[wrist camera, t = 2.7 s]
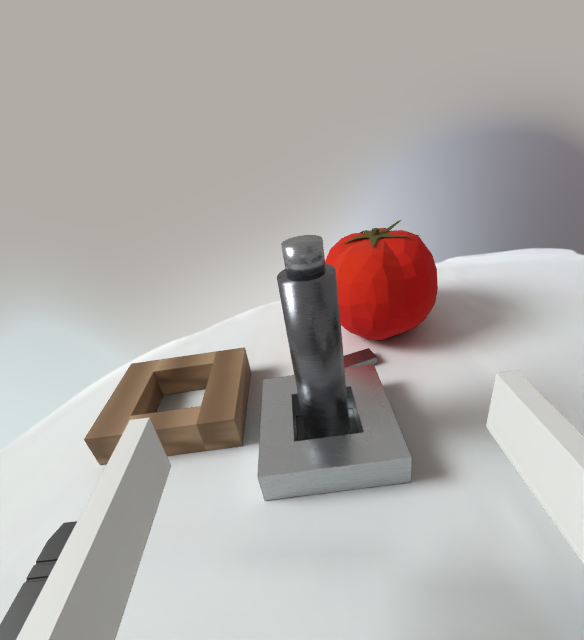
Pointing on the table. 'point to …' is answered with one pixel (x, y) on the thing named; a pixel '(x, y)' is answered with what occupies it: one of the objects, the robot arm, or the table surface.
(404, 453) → the socket collar
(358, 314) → the tomato
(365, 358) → the bar
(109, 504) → the robot arm
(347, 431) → the metal bottle
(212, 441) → the frame
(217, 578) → the table surface
